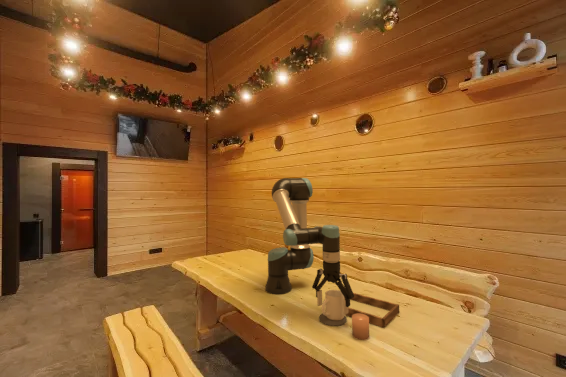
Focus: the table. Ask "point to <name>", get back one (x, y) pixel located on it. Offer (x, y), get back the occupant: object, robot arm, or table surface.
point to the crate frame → (377, 303)
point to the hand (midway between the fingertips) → (332, 309)
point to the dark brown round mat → (332, 321)
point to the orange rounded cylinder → (360, 326)
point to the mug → (333, 305)
